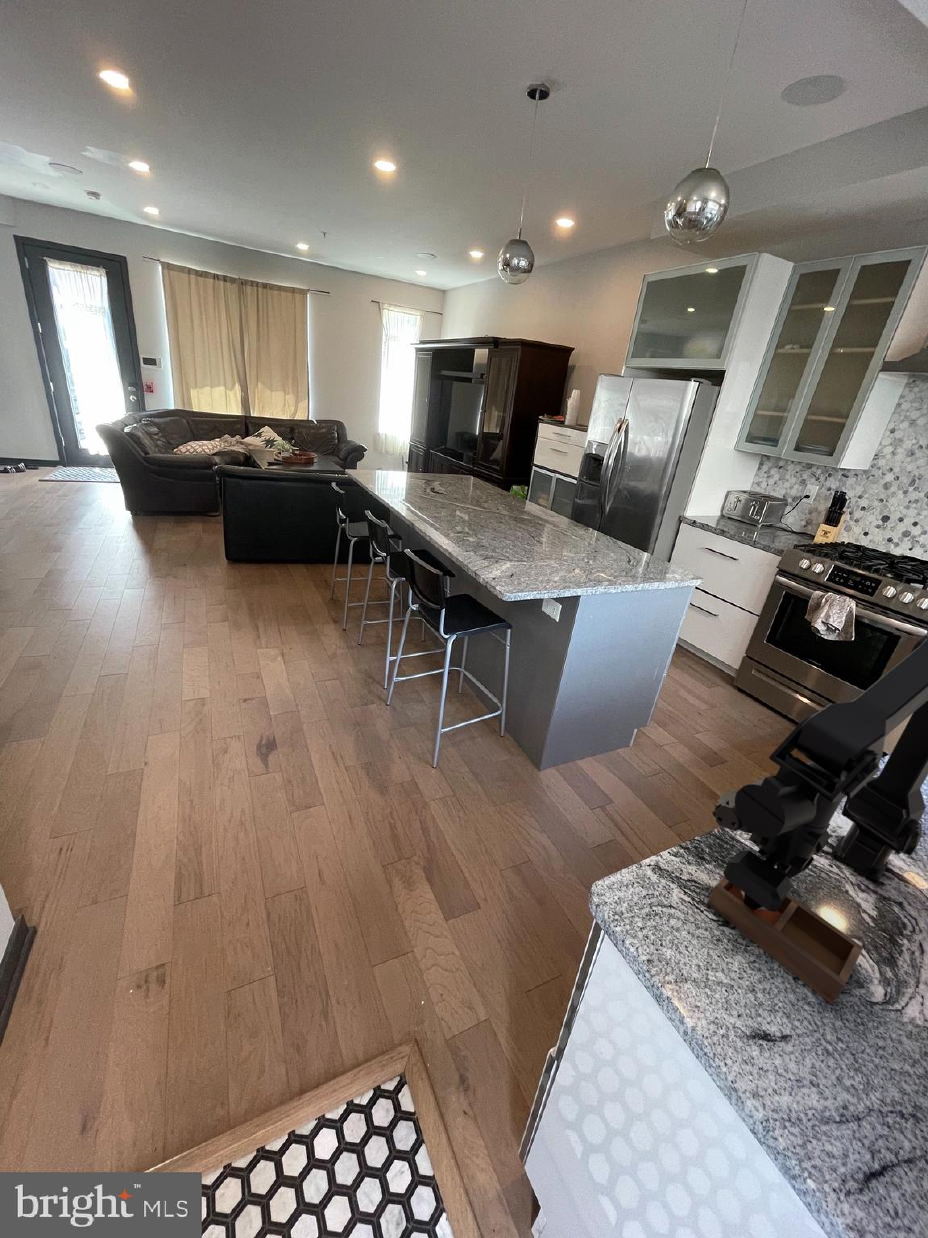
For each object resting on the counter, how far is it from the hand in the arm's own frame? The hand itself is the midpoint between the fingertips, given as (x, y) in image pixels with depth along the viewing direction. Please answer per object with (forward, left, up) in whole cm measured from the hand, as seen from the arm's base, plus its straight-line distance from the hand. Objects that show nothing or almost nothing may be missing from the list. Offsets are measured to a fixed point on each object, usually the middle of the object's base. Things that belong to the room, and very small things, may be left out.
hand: (755, 898), depth 68 cm
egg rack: (0, +4, -3) cm, 4 cm away
